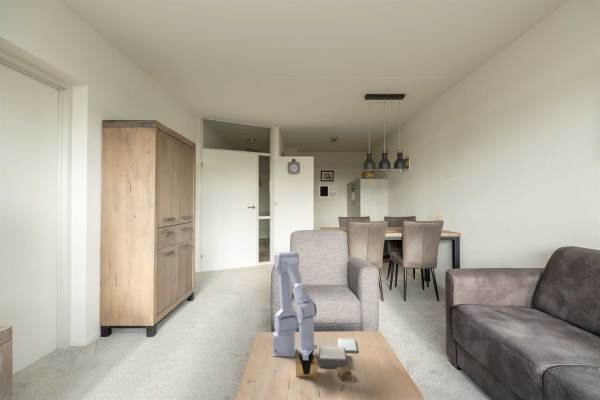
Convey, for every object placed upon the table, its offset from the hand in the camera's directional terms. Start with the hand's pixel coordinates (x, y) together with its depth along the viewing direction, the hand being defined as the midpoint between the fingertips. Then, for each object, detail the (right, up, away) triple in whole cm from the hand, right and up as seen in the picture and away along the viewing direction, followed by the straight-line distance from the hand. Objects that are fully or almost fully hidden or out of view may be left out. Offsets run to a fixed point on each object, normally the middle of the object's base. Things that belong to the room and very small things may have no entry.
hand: (306, 370), depth 114 cm
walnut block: (+14, -1, -2) cm, 14 cm away
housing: (0, -1, 0) cm, 1 cm away
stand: (+11, -2, +10) cm, 15 cm away
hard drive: (+19, -3, +23) cm, 30 cm away
